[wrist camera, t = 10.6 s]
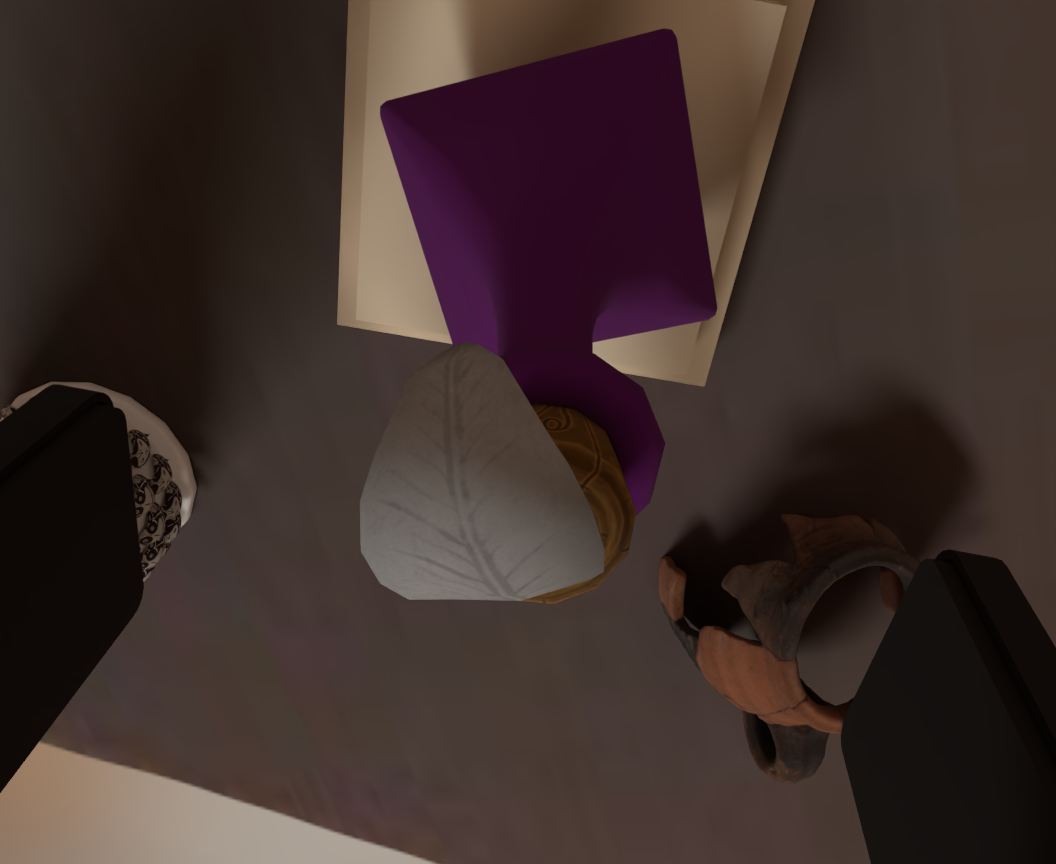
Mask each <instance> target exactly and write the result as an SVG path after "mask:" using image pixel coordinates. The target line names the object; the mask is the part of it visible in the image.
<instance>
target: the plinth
mask: <svg viewBox="0 0 1056 864" xmlns="http://www.w3.org/2000/svg"><path fill="white" fill-rule="evenodd" d="M814 2H815V0H348V25H347V54H346V83H345V113H344V142H343V171H342V201H341V230H340V259H339V288H338V318H337V324H338V325H343V326H349V327H355V328H361V329H367V330H373V331H379V332H385V333H391V334H397V335H403V336H408V337H414V338H420V339H426V340H432V341H438V342H444V343H450V344H452V340H451V337H450V334H449V331H448V328H447V325H446V322H445V319H444V315H443V312H442V309H441V306H440V303H439V300H438V297H437V293H436V290H435V287H434V284H433V281H432V278H431V275H430V271H429V268H428V265H427V262H426V259H425V256H424V253H423V249H422V246H421V243H420V240H419V237H418V234H417V231H416V227H415V224H414V221H413V218H412V215H411V212H410V209H409V206H408V202H407V199H406V196H405V193H404V190H403V187H402V184H401V180H400V177H399V174H398V171H397V168H396V165H395V162H394V158H393V155H392V152H391V149H390V146H389V143H388V140H387V136H386V133H385V130H384V127H383V124H382V121H381V117H380V106H381V105H382V104H383V103H384V102H386V101H388V100H392V99H395V98H399V97H403V96H407V95H411V94H414V93H418V92H422V91H426V90H430V89H434V88H437V87H441V86H445V85H449V84H453V83H457V82H460V81H464V80H468V79H472V78H476V77H479V76H483V75H487V74H491V73H495V72H499V71H502V70H506V69H510V68H514V67H518V66H521V65H525V64H529V63H533V62H537V61H541V60H544V59H548V58H552V57H556V56H560V55H563V54H567V53H571V52H575V51H579V50H583V49H586V48H590V47H594V46H598V45H602V44H605V43H609V42H613V41H617V40H621V39H625V38H628V37H632V36H636V35H640V34H644V33H648V32H651V31H655V30H659V29H663V28H664V29H671V30H673V32H674V34H675V35H676V37H677V42H678V48H679V55H680V62H681V68H682V75H683V82H684V88H685V95H686V102H687V108H688V115H689V122H690V128H691V135H692V142H693V148H694V155H695V162H696V168H697V175H698V182H699V188H700V195H701V202H702V208H703V215H704V222H705V228H706V235H707V242H708V248H709V255H710V262H711V268H712V275H713V282H714V288H715V295H716V302H717V312H716V315H715V316H713V317H712V318H710V319H709V320H706V321H701V322H695V323H690V324H685V325H680V326H675V327H670V328H665V329H660V330H654V331H649V332H644V333H639V334H634V335H629V336H624V337H619V338H613V339H608V340H603V341H598V342H593V353H594V354H596V355H597V356H598V357H600V358H601V359H603V360H604V361H606V362H607V363H608V364H610V365H611V366H613V367H614V368H616V369H617V370H618V371H620V372H621V373H627V374H633V375H639V376H645V377H651V378H656V379H662V380H668V381H674V382H680V383H686V384H692V385H698V386H705V382H706V379H707V376H708V372H709V369H710V365H711V362H712V358H713V355H714V351H715V348H716V344H717V341H718V337H719V334H720V330H721V327H722V323H723V320H724V316H725V313H726V309H727V306H728V302H729V299H730V295H731V292H732V288H733V285H734V281H735V278H736V274H737V271H738V267H739V264H740V260H741V257H742V253H743V250H744V246H745V243H746V239H747V236H748V233H749V229H750V226H751V222H752V219H753V215H754V212H755V208H756V205H757V201H758V198H759V194H760V191H761V187H762V184H763V180H764V177H765V173H766V170H767V166H768V163H769V159H770V156H771V152H772V149H773V145H774V142H775V138H776V135H777V131H778V128H779V124H780V121H781V117H782V114H783V110H784V107H785V103H786V100H787V96H788V93H789V89H790V86H791V83H792V79H793V76H794V72H795V69H796V65H797V62H798V58H799V55H800V51H801V48H802V44H803V41H804V37H805V34H806V30H807V27H808V23H809V20H810V16H811V13H812V9H813V6H814Z"/></svg>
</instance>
